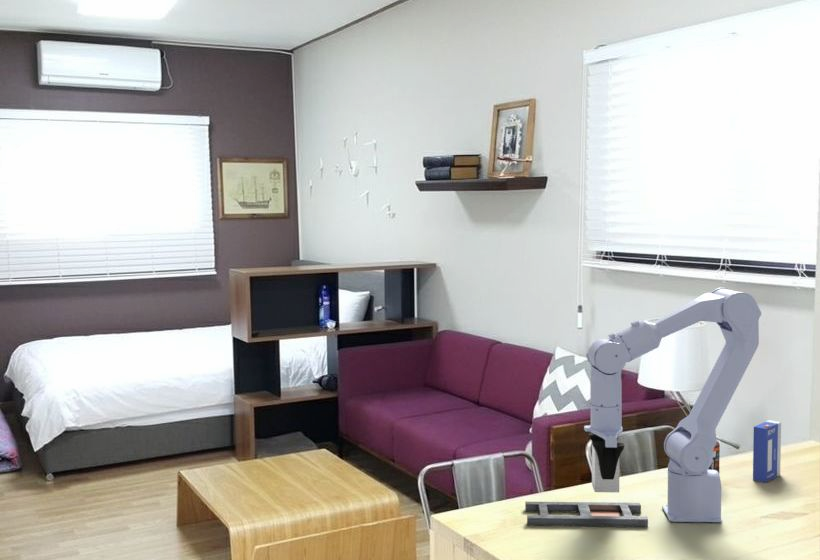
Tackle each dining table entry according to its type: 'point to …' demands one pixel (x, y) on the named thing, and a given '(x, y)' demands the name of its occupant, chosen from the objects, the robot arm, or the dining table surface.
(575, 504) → the rail
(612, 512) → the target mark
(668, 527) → the dining table surface
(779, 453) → the walkman
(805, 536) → the dining table surface
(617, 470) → the steel peg
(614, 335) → the robot arm
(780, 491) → the dining table surface
